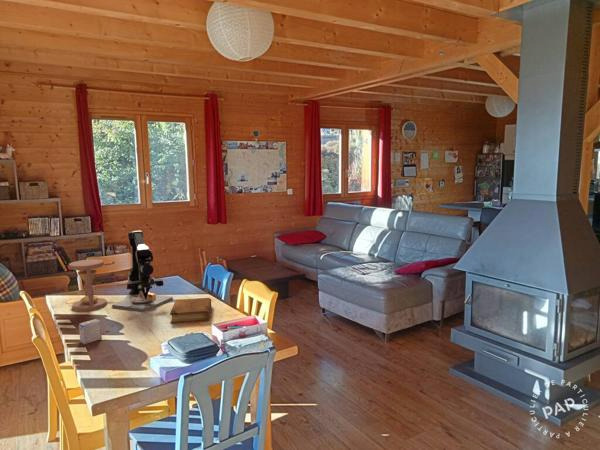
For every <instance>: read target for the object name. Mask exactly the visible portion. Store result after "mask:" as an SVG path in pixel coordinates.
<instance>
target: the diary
mask: <svg viewBox="0 0 600 450" xmlns="http://www.w3.org/2000/svg"><path fill="white" fill-rule="evenodd" d="M211 311H212V299H211V298H210V297H200V298H183V299H182V298H181V299H176V300H175V301H174V304H173V305H172V308H171V310H170V313H169V316H171V321H170V325H172V324H173V325H175V324H176V325H177V324H188V323H202V322H203V323H204V322H209V321H210V317H211Z"/></svg>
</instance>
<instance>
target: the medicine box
mask: <svg viewBox="0 0 600 450" xmlns="http://www.w3.org/2000/svg"><path fill="white" fill-rule="evenodd" d="M78 329H79V330H78V331H79V341H80V343H81V344H83V345H87V344H90V343H93V342H96V341H99V340H102V339H103V337H102V336H103V334H102V324H101V320H99V319H96V318H94V319H92V320H87V321H83V322H80V323H78Z"/></svg>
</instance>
